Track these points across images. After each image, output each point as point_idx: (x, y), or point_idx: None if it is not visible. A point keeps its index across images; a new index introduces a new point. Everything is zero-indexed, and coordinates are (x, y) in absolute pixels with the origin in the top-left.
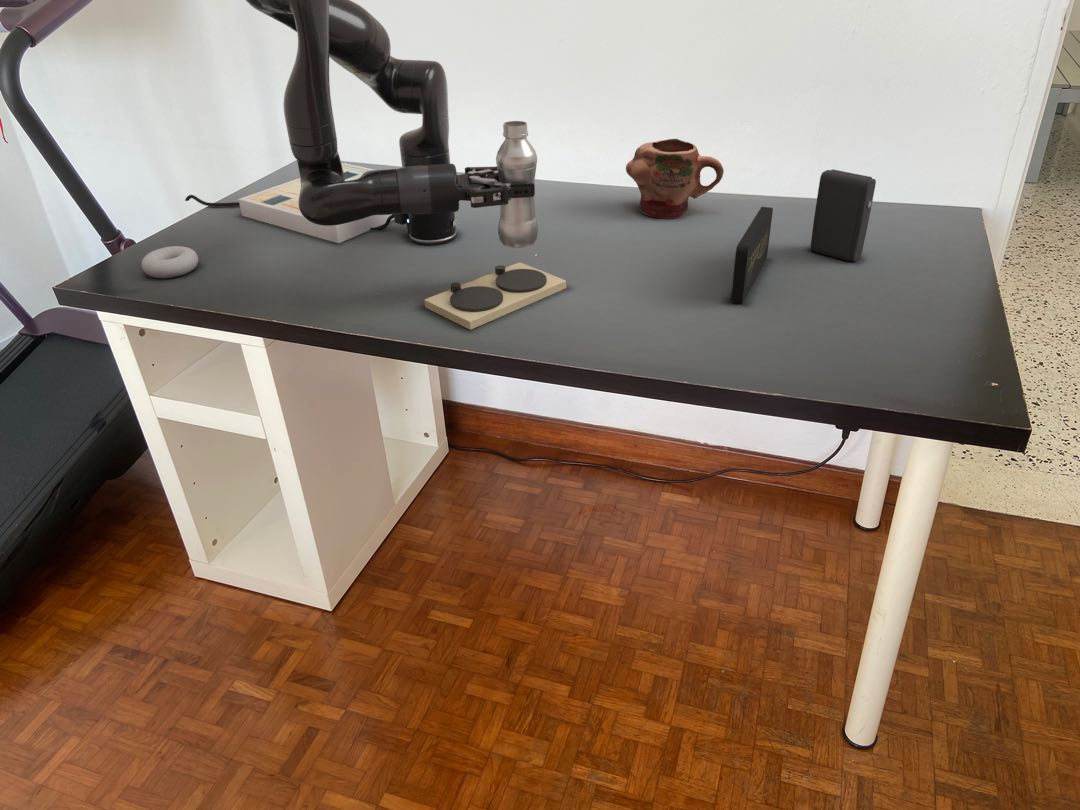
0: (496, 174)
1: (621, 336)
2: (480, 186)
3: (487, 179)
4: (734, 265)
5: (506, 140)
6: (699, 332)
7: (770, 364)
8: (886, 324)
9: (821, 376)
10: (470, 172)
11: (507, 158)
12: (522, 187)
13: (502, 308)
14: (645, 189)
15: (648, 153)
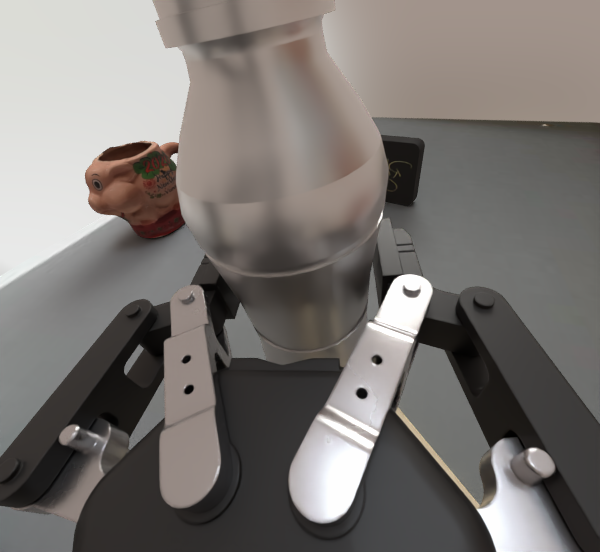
0: (211, 323)
1: (519, 302)
2: (414, 437)
3: (367, 367)
4: (417, 166)
5: (272, 66)
6: (488, 233)
7: (556, 199)
8: (452, 147)
9: (570, 177)
10: (189, 479)
11: (366, 173)
12: (411, 249)
13: (467, 492)
14: (145, 211)
15: (118, 169)
